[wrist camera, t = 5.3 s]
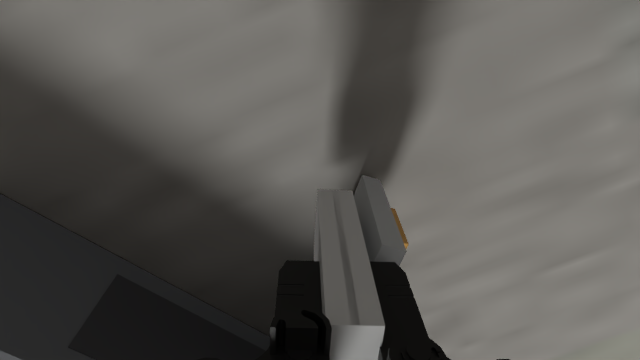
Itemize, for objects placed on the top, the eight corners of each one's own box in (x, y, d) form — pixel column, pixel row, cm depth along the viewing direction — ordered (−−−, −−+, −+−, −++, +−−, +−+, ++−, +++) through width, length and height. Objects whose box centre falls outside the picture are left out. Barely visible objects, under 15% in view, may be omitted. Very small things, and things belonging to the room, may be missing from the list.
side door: (359, 171, 17) (380, 248, 12) (392, 181, 17) (426, 260, 12) (289, 345, 21) (283, 456, 16) (316, 351, 21) (318, 462, 16)
